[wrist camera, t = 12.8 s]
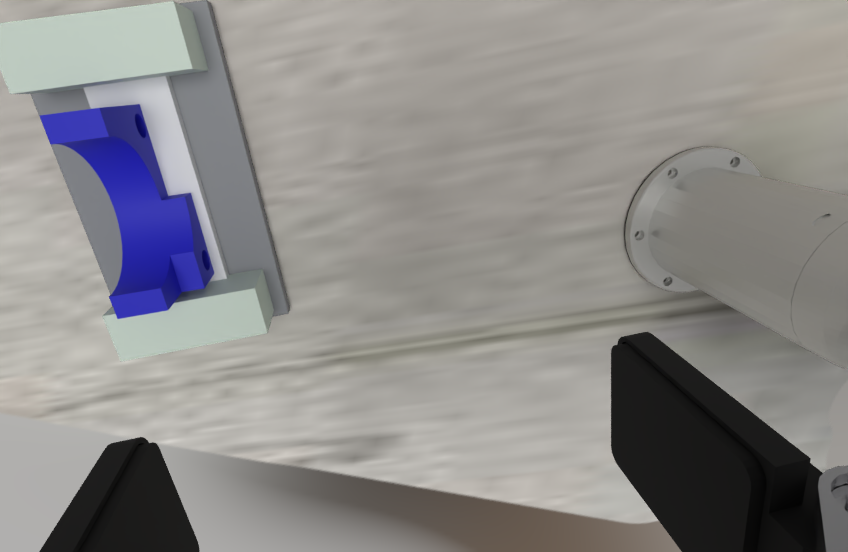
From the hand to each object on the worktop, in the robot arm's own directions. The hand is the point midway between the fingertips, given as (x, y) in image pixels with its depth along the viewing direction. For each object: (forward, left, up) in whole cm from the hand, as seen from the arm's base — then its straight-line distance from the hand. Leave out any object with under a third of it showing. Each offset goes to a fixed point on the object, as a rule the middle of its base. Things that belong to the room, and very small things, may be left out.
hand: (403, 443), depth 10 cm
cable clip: (+13, -2, -28) cm, 32 cm away
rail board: (+13, -2, -30) cm, 33 cm away
